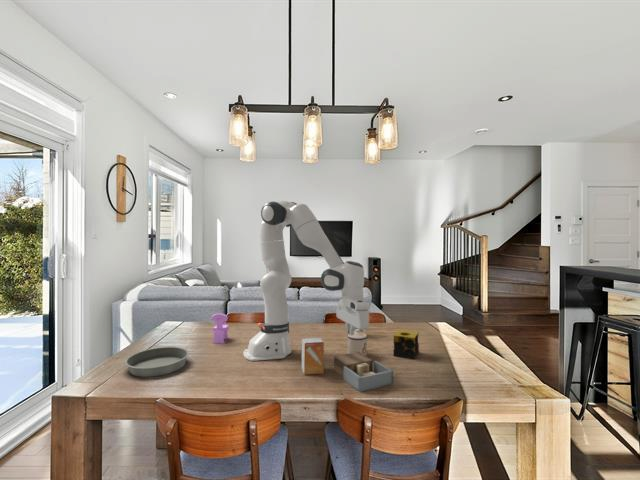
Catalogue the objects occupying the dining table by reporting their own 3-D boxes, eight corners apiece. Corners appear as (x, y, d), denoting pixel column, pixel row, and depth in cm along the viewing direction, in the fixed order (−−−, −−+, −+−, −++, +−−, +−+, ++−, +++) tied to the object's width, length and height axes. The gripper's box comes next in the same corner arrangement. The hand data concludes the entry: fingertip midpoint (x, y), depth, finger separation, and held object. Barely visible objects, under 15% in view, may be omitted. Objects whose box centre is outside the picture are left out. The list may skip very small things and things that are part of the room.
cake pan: (128, 360, 151) (128, 350, 151) (187, 353, 161) (187, 343, 161) (120, 383, 129) (120, 371, 129) (190, 373, 138) (190, 362, 138)
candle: (419, 352, 163) (419, 332, 163) (415, 360, 154) (415, 337, 153) (397, 349, 167) (397, 329, 167) (392, 356, 158) (393, 334, 158)
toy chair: (230, 338, 184) (230, 310, 184) (226, 343, 175) (226, 314, 175) (214, 338, 184) (214, 310, 184) (210, 343, 175) (210, 314, 175)
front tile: (362, 373, 130) (362, 380, 130) (369, 378, 126) (369, 384, 126) (371, 371, 132) (371, 378, 132) (378, 375, 128) (378, 382, 128)
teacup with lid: (366, 358, 155) (366, 333, 155) (346, 357, 156) (346, 332, 156) (367, 349, 167) (367, 326, 166) (348, 348, 168) (349, 325, 168)
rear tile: (355, 376, 134) (359, 378, 132) (355, 364, 134) (359, 366, 132) (365, 374, 136) (369, 376, 134) (365, 362, 136) (369, 365, 134)
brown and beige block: (346, 378, 133) (346, 364, 133) (334, 369, 142) (334, 356, 142) (372, 373, 138) (372, 360, 138) (358, 364, 148) (358, 351, 147)
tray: (359, 392, 122) (359, 378, 122) (343, 379, 132) (343, 366, 132) (393, 384, 128) (393, 371, 128) (375, 372, 139) (375, 360, 139)
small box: (304, 375, 136) (304, 342, 136) (301, 369, 142) (301, 338, 142) (323, 373, 138) (324, 341, 138) (320, 367, 144) (320, 336, 144)
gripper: (333, 296, 148) (331, 327, 149) (358, 307, 130) (356, 342, 130) (346, 295, 151) (344, 326, 152) (372, 306, 133) (370, 341, 133)
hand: (350, 334), depth 141 cm, fingers closed
